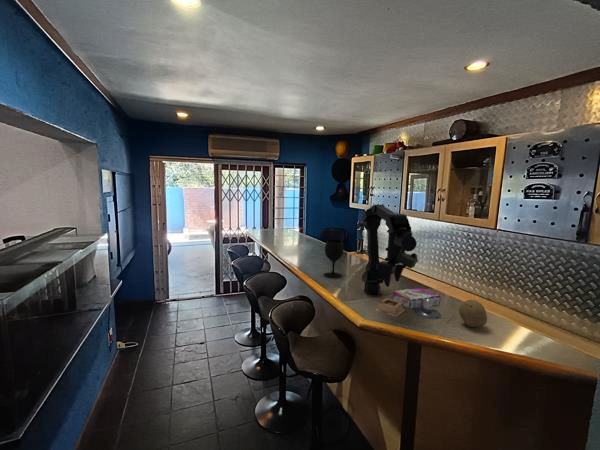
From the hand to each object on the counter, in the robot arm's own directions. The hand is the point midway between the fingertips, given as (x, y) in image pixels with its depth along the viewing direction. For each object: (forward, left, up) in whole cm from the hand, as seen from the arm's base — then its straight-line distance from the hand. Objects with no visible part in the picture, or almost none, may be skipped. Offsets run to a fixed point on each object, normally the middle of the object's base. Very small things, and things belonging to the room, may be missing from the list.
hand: (392, 283), depth 118 cm
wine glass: (-45, +23, -12) cm, 52 cm away
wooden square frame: (0, 0, -11) cm, 11 cm away
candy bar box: (+8, +24, -9) cm, 27 cm away
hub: (+12, +7, -12) cm, 18 cm away
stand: (0, 0, -12) cm, 12 cm away
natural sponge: (+27, +10, -12) cm, 31 cm away
